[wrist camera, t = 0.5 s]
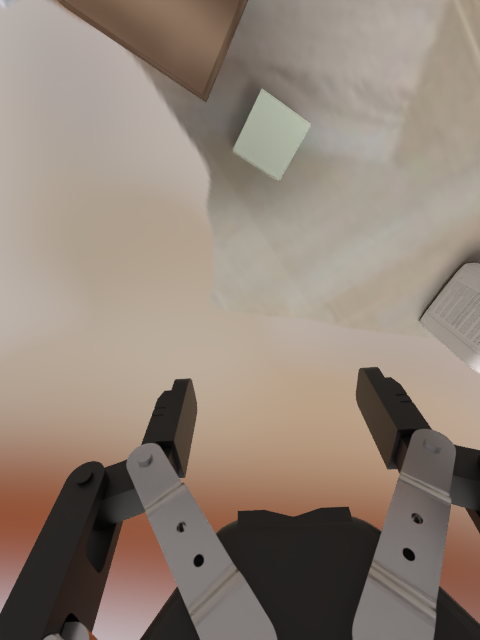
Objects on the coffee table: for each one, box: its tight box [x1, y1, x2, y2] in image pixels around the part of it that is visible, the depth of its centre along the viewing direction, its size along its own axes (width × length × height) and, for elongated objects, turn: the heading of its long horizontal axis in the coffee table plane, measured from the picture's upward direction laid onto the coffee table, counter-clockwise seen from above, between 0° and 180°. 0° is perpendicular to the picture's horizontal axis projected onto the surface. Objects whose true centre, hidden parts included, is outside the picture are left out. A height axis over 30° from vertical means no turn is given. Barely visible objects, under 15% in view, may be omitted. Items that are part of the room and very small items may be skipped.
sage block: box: [233, 89, 311, 181], centre depth 28 cm, size 5×5×6 cm
